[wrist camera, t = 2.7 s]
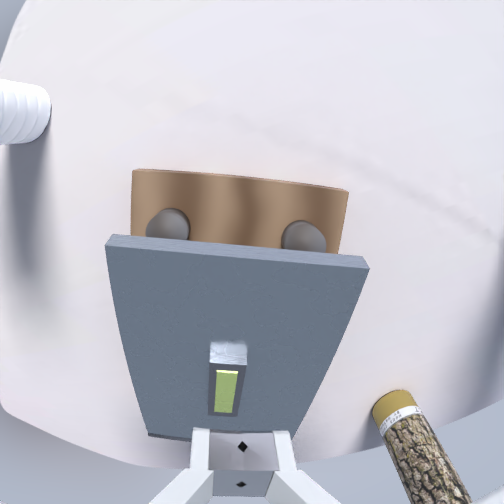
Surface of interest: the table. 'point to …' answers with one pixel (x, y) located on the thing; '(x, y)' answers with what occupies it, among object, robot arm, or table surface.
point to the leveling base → (237, 210)
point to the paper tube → (417, 452)
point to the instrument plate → (228, 330)
